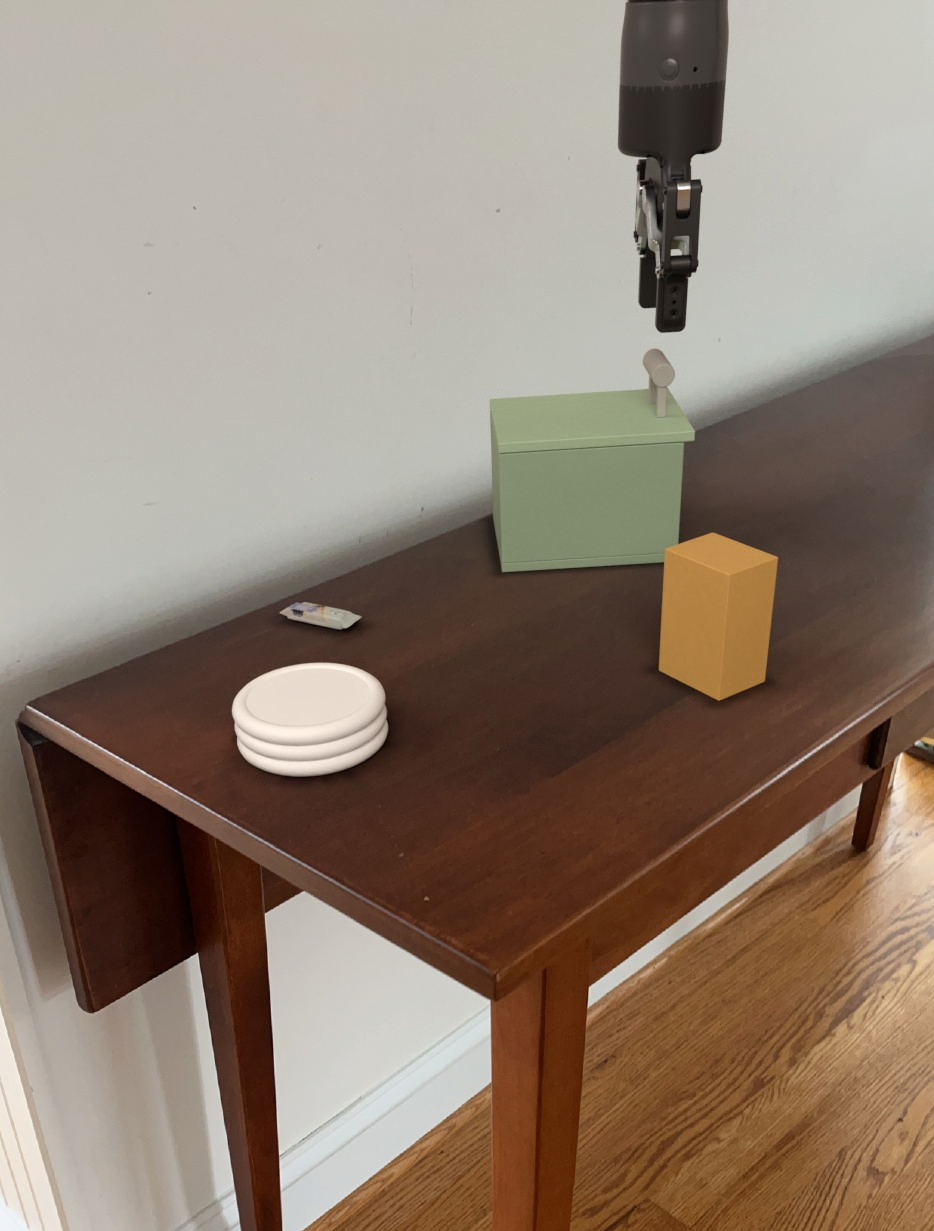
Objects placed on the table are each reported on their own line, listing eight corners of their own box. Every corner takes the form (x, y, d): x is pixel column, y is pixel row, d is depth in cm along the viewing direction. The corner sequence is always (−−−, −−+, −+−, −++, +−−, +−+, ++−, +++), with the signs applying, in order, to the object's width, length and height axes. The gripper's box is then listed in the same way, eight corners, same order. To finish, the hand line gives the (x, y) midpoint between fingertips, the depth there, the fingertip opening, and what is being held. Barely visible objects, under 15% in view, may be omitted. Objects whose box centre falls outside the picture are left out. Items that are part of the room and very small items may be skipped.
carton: (703, 652, 91) (712, 531, 86) (765, 681, 87) (778, 556, 82) (658, 670, 89) (664, 548, 84) (718, 701, 85) (729, 574, 80)
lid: (667, 397, 109) (670, 335, 106) (694, 441, 99) (698, 375, 96) (489, 408, 110) (488, 347, 107) (498, 453, 99) (497, 387, 97)
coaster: (313, 797, 78) (306, 747, 76) (207, 750, 84) (198, 703, 82) (419, 731, 84) (416, 684, 82) (314, 692, 90) (308, 646, 88)
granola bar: (365, 612, 98) (339, 624, 96) (366, 626, 98) (340, 639, 96) (301, 591, 101) (274, 603, 99) (302, 605, 102) (276, 617, 100)
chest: (653, 509, 115) (658, 398, 109) (677, 561, 105) (684, 442, 99) (493, 519, 115) (489, 409, 110) (502, 572, 105) (498, 454, 99)
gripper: (747, 80, 84) (726, 337, 94) (705, 66, 96) (691, 296, 106) (634, 87, 85) (625, 343, 94) (607, 72, 96) (601, 302, 106)
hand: (660, 318), depth 100 cm, fingers open, 8 cm apart
